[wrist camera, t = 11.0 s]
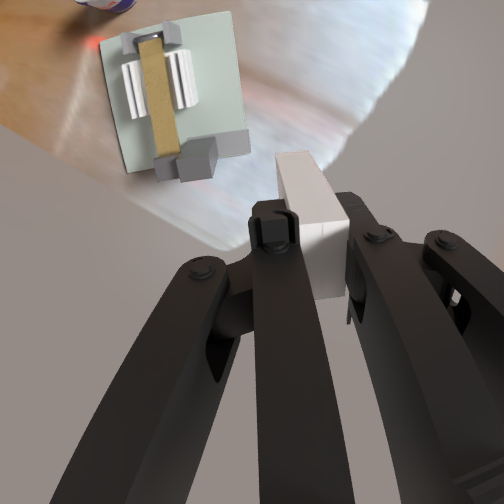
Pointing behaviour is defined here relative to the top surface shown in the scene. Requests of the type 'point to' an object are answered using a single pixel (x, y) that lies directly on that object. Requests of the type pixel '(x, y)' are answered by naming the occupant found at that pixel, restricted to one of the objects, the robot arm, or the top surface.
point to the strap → (158, 92)
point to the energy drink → (109, 4)
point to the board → (179, 87)
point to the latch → (189, 161)
